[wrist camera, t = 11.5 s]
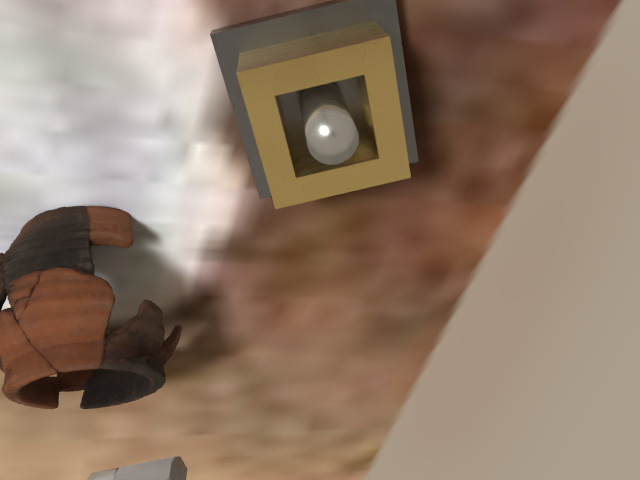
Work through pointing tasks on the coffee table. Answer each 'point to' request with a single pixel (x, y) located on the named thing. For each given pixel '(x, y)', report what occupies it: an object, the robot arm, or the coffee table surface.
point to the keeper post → (320, 101)
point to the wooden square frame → (313, 70)
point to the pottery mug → (74, 316)
